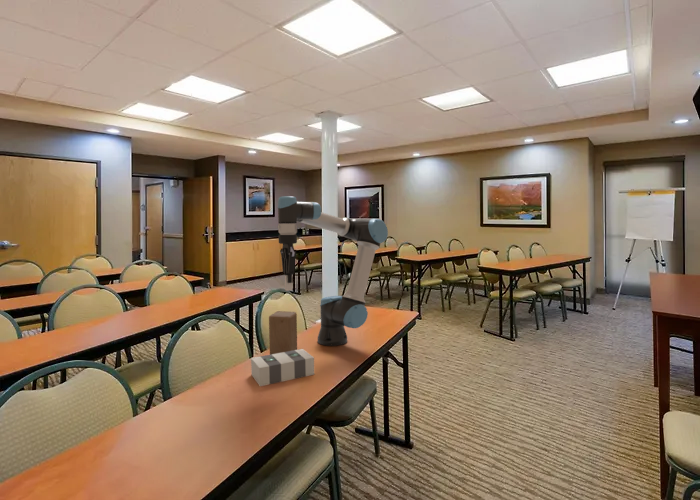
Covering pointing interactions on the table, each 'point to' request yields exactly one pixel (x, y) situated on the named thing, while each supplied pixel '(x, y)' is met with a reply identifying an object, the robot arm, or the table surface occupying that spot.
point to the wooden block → (282, 332)
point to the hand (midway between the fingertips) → (288, 290)
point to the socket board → (282, 367)
